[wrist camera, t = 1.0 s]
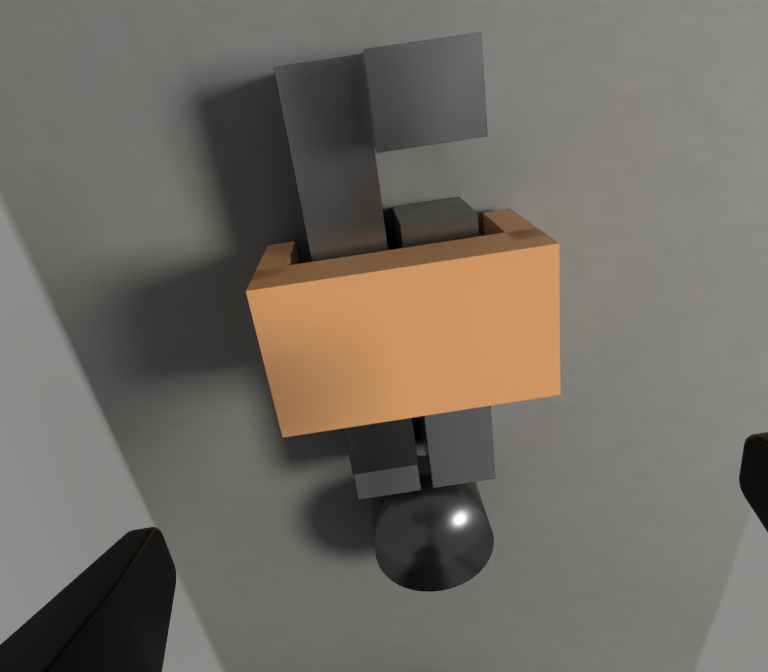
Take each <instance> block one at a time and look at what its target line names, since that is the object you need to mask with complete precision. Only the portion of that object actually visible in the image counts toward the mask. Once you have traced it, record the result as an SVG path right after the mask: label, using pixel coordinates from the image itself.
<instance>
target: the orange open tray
mask: <svg viewBox="0 0 768 672" xmlns="http://www.w3.org/2000/svg"><path fill="white" fill-rule="evenodd" d="M483 221H484V236H479V237H472V238H466V239H459V240H453V241H446V242H439V243H433V244H426V245H420V246H413V247H407V248H400V249H393V250H387V251H380V252H374V253H367V254H361V255H354V256H348V257H341V258H334V259H328V260H321V261H315V262H308V263H302V264H299V260H298V255H297V250H296V245H295V241H293V242H287V243H280V244H274V245H268V246H267V248H266V250H265V252H264V254H263V256H262V258H261V260H260V263H259V265H258V267H257V269H256V271H255V273H254V275H253V277H252V279H251V281H250V283H249V285H248V288H247V290H246V294H247V298H248V302H249V306H250V310H251V314H252V318H253V322H254V326H255V330H256V334H257V338H258V342H259V346H260V350H261V354H262V358H263V362H264V366H265V370H266V374H267V378H268V381H269V385H270V389H271V393H272V397H273V401H274V405H275V409H276V413H277V417H278V421H279V425H280V429H281V433H282V437H283V438H284V437H290V436H297V435H303V434H310V433H316V432H323V431H329V430H336V429H342V428H348V427H355V426H361V425H368V424H374V423H381V422H387V421H394V420H400V419H407V418H413V417H420V416H426V415H433V414H439V413H446V412H452V411H458V410H465V409H471V408H478V407H484V406H491V405H497V404H504V403H510V402H517V401H523V400H530V399H536V398H543V397H549V396H556V395H560V291H559V243H558V242H556V241H555V240H553V239H552V238H551V237H549V236H548V235H546V234H545V233H544V232H542V231H541V230H539V229H538V228H536V227H535V226H534V225H532V224H531V223H529V222H528V221H527V220H525V219H524V218H522V217H521V216H519V215H518V214H517V213H515V212H514V211H512V210H511V209H504V210H497V211H491V212H484V213H483Z"/></svg>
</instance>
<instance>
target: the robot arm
mask: <svg viewBox="0 0 768 672" xmlns="http://www.w3.org/2000/svg"><path fill="white" fill-rule="evenodd" d="M739 482H740V487H741V490H742V492H743V494H744V496H745V498H746V499H747V501H748V502H749V504H750V506H751V507H752V509H753V510H754V512H755V513H756V515H757V516H758V518H759V519H760V521H761V523H762V524H763V525H764V527H765V529H766V530H767V532H768V432H766V433H759V434H753V435H751V436H749V437H748V438H747V439H746V441H745V443H744V449H743V456H742V462H741V469H740V476H739ZM175 585H176V570H175V566H174V563H173V560H172V558H171V555H170V552H169V550H168V547H167V545H166V542H165V539H164V537H163V535H162V533H161V531H160V530H159V529H158V528H155V527H150V528H144V529H137V530H132V531H130V532H128V533H127V534H125V535H124V536H123V537H122V538H121V539H120V540H118V541H117V542H116V543H115V544H114V545H113V546H112V547H111V548H109V549H108V550H107V551H106V552H105V553H104V554H103V555H101V556H100V557H99V558H98V559H97V560H96V561H95V562H94V563H93V564H91V565H90V566H89V567H88V568H87V569H86V570H84V571H83V572H82V573H81V574H80V575H79V576H78V577H77V578H75V579H74V580H73V581H72V582H71V583H70V584H69V585H68V586H66V587H65V588H64V589H63V590H62V591H61V592H60V593H58V594H57V595H56V596H55V597H54V598H53V599H52V600H51V601H49V602H48V603H47V604H46V605H45V606H44V607H43V608H42V609H40V610H39V611H38V612H37V613H36V614H35V615H34V616H32V618H30V619H29V620H28V621H27V622H26V623H25V624H23V625H22V626H21V627H20V628H19V629H18V630H17V631H15V632H14V633H13V634H12V635H11V636H10V637H9V638H8V639H7V640H5V641H4V642H3V643H2V644H1V645H0V672H162V667H163V661H164V654H165V648H166V642H167V635H168V628H169V623H170V617H171V611H172V604H173V598H174V591H175Z"/></svg>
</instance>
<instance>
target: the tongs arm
mask: <svg viewBox="0 0 768 672" xmlns="http://www.w3.org/2000/svg"><path fill="white" fill-rule="evenodd" d="M274 70H275V75H276V80H277V86H278V91H279V96H280V101H281V106H282V111H283V116H284V121H285V126H286V131H287V136H288V142H289V147H290V152H291V157H292V162H293V167H294V172H295V177H296V182H297V187H298V193H299V198H300V203H301V208H302V213H303V218H304V223H305V228H306V233H307V238H308V243H309V249H310V254H311V259H312V262H315V261H321V260H328V259H334V258H341V257H348V256H354V255H361V254H367V253H374V252H380V251H387V250H388V246H387V239H386V232H385V224H384V217H383V210H382V202H381V195H380V188H379V181H378V173H377V166H376V159H375V151H374V147H375V149H376V151H377V153H379V152H385V151H392V150H399V149H405V148H412V147H418V146H425V145H432V144H438V143H445V142H452V141H458V140H465V139H471V138H478V137H485V136H488V135H487V117H486V100H485V82H484V65H483V47H482V32H477V33H470V34H463V35H457V36H450V37H443V38H436V39H430V40H423V41H416V42H410V43H403V44H396V45H390V46H383V47H376V48H370V49H364V50H363V52H362V53H361V54H359V55H352V56H345V57H339V58H332V59H325V60H318V61H312V62H305V63H298V64H292V65H285V66H278V67H274ZM344 431H345V436H346V441H347V446H348V451H349V456H350V461H351V466H352V471H353V475H354V478H355V483H356V488H357V493H358V498H359V499H366V498H372V497H379V496H385V495H392V494H398V493H404V492H411V491H417V490H421V486H420V479H419V472H418V460H417V452H416V445H415V438H414V430H413V423H412V418H407V419H400V420H394V421H387V422H381V423H374V424H368V425H361V426H355V427H348V428H344Z"/></svg>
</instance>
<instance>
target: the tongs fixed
mask: <svg viewBox="0 0 768 672" xmlns="http://www.w3.org/2000/svg"><path fill="white" fill-rule="evenodd" d="M393 214H394V222H395V229H396V237H397V245H398V249H400V248H407V247H413V246H420V245H426V244H433V243H439V242H446V241H453V240H459V239H466V238H472V237H479V229H478V214H477V212H476V211H474V210H473V209H472V208H471V207H470V206H469V205H468V204H467V203H466V202H465V201H463V200H462V199H461V198H460V197H456V198H449V199H443V200H436V201H429V202H423V203H416V204H410V205H403V206H396V207H393ZM420 422H421V430H422V437H423V445H424V449H425V454H426V456H421V457H417V460H418V472H419V479H420V486H421V490H417V491H411V492H404V493H398V494H392V495H385V496H379V497H372V509H373V523H374V537H375V551H376V558H377V562H378V564H379V566H380V568H381V570H382V571H383V573H384V574H385V575H386V576H387V577H388V578H389V579H391V580H392V581H393V582H395V583H397V584H398V585H400V586H403V587H405V588H408V589H412V590H417V591H441V590H446V589H450V588H453V587H456V586H458V585H461V584H463V583H465V582H466V581H468V580H470V579H471V578H473V577H474V576H475V575H476V574H478V573H479V572H480V571H481V570H482V569H483V567H484V566H485V565H486V563H487V562H488V560H489V558H490V556H491V553H492V551H493V545H494V538H493V532H492V529H491V526H490V523H489V520H488V518H487V515H486V512H485V509H484V506H483V503H482V500H481V497H480V494H479V491H478V488H477V485H476V482H475V481H482V480H488V479H494V478H495V464H494V449H493V435H492V420H491V406H484V407H478V408H471V409H465V410H458V411H452V412H446V413H439V414H433V415H426V416H420Z"/></svg>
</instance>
